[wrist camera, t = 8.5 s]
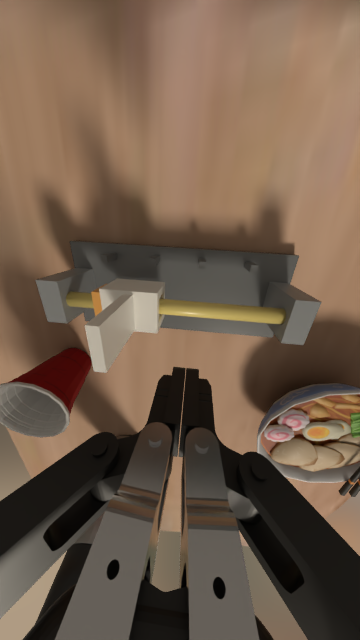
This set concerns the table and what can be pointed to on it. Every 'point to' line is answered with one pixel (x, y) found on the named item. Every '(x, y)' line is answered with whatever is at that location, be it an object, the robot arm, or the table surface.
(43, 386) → the plastic cup
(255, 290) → the cable comb fixture
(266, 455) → the ramen bowl
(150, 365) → the table surface
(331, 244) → the table surface
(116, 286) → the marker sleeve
